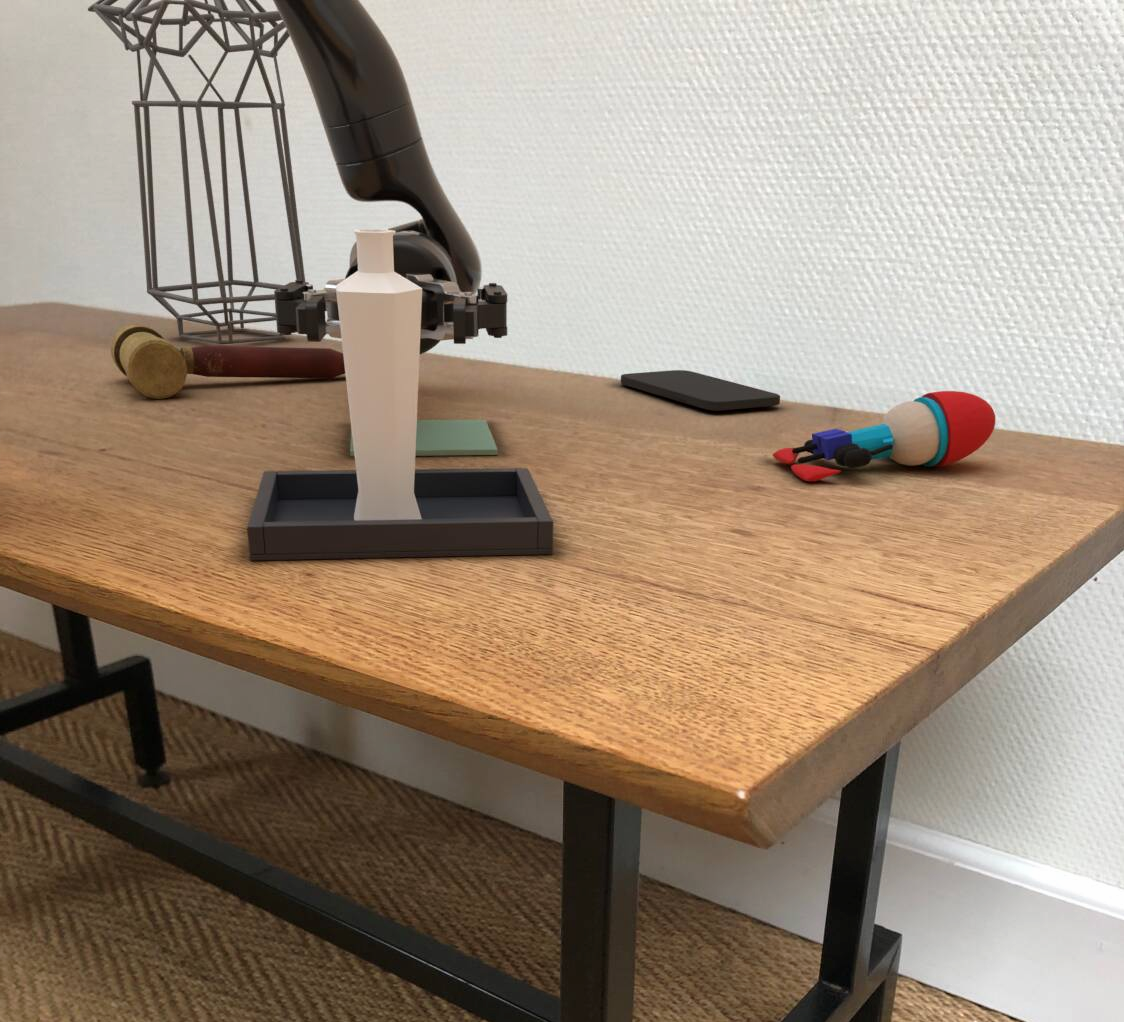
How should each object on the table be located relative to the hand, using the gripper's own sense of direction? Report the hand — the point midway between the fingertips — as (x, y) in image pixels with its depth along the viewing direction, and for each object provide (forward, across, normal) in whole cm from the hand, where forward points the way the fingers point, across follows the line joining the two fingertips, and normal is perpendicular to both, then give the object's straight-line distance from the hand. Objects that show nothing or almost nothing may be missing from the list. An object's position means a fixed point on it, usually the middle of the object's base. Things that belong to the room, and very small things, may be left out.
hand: (386, 324), depth 73 cm
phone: (-32, +24, +10) cm, 41 cm away
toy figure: (-7, +33, +10) cm, 35 cm away
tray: (+8, +1, +10) cm, 13 cm away
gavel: (-36, -15, +10) cm, 40 cm away
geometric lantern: (-60, -21, +10) cm, 65 cm away
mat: (-14, +1, +10) cm, 17 cm away
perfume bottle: (+8, 0, +10) cm, 13 cm away
